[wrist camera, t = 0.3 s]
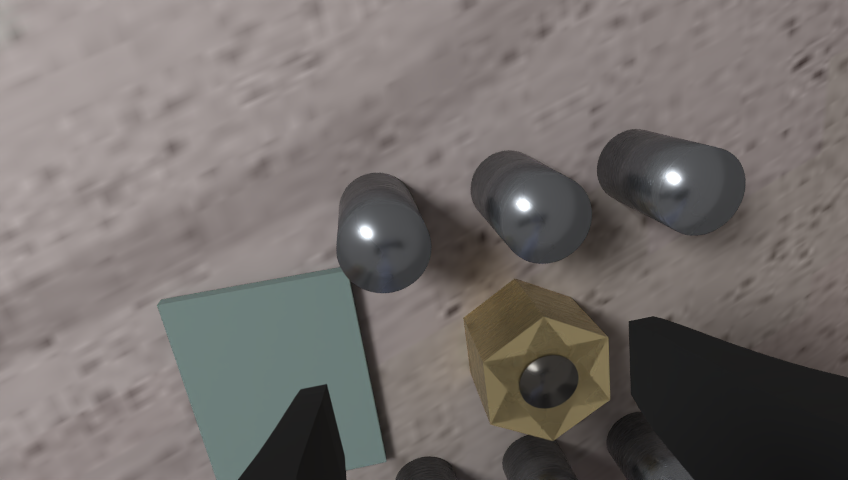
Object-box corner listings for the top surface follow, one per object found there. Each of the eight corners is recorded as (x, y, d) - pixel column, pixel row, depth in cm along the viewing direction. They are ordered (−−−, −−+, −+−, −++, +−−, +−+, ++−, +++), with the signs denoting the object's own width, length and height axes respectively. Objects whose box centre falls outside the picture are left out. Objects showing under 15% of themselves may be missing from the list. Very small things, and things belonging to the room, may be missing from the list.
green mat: (385, 453, 24) (386, 461, 23) (224, 487, 23) (222, 496, 23) (347, 266, 21) (347, 270, 20) (161, 299, 20) (157, 305, 20)
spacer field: (663, 455, 26) (725, 532, 22) (399, 512, 25) (410, 605, 21) (666, 123, 21) (748, 140, 16) (332, 179, 20) (327, 212, 15)
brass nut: (574, 377, 24) (611, 429, 21) (473, 398, 24) (494, 454, 20) (568, 267, 22) (608, 305, 19) (459, 288, 22) (479, 330, 18)
